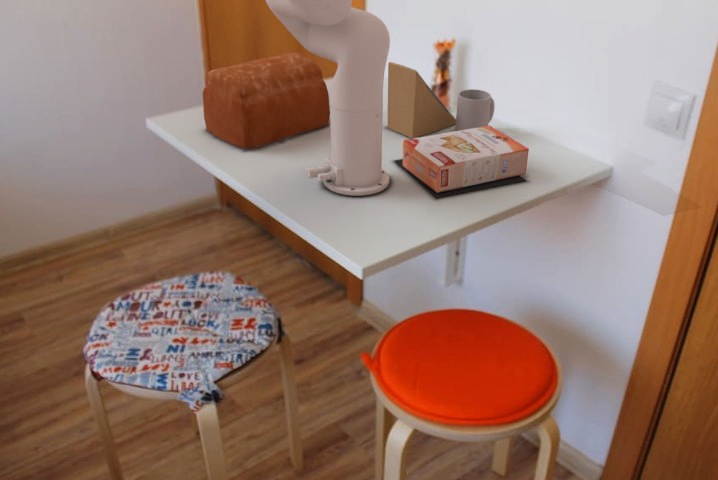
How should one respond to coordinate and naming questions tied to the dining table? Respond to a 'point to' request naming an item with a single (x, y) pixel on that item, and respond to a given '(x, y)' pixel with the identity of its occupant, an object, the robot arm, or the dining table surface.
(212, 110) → the bread
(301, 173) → the dining table surface
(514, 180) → the mat
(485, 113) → the cup
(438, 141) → the cracker box
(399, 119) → the sandwich container
